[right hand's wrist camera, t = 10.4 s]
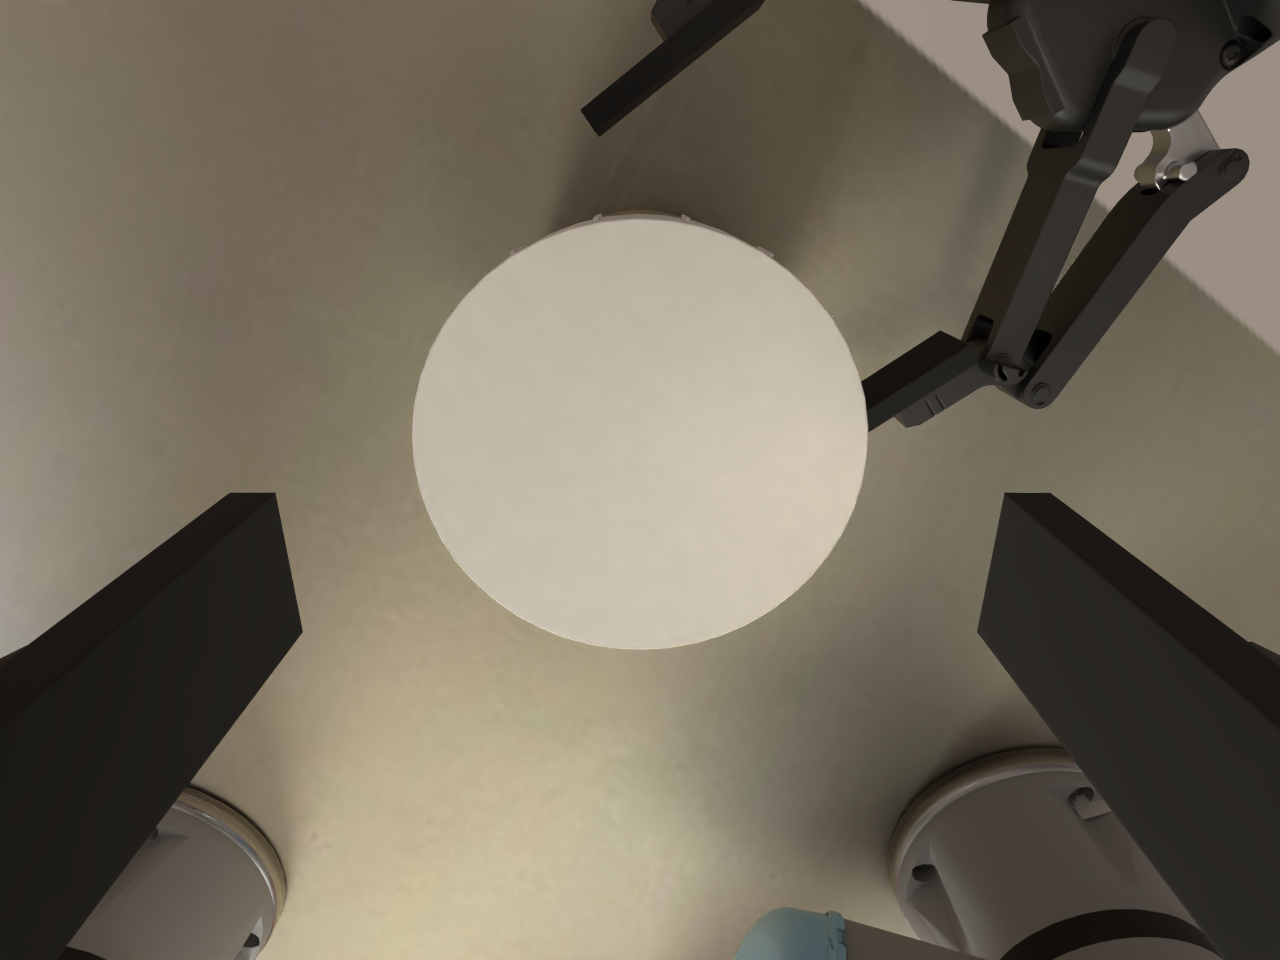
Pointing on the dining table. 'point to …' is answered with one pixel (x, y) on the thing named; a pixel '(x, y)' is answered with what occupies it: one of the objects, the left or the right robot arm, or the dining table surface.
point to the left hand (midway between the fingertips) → (704, 297)
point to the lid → (640, 432)
